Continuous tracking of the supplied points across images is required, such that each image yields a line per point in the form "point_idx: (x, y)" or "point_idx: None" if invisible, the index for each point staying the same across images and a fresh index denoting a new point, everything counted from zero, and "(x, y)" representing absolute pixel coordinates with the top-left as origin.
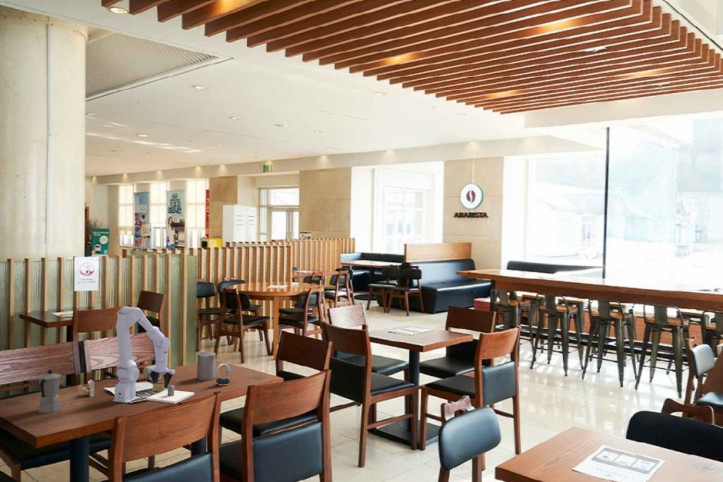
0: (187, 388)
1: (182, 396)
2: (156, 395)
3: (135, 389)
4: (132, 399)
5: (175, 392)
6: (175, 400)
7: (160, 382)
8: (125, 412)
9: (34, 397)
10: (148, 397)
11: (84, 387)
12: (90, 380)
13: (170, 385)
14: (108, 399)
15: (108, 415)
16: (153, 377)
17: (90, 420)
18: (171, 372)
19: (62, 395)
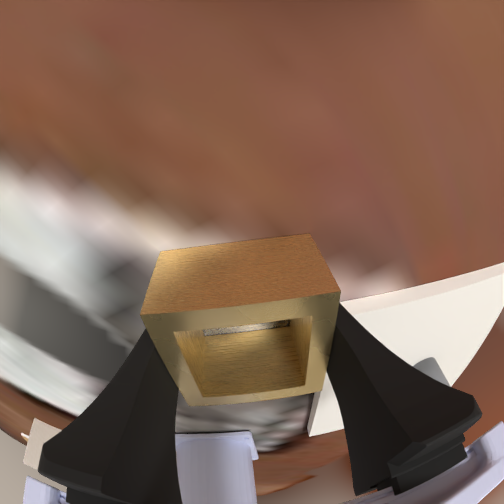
0: (460, 122)
1: (474, 344)
2: (339, 409)
3: (248, 481)
4: (254, 450)
5: (434, 328)
6: (449, 384)
7: (177, 324)
8: (320, 462)
9: (18, 435)
10: (315, 431)
11: (26, 440)
12: (29, 464)
13: None
14: None
15: (292, 474)
16: (174, 465)
17: (279, 482)
18: (467, 470)
19: (23, 428)
